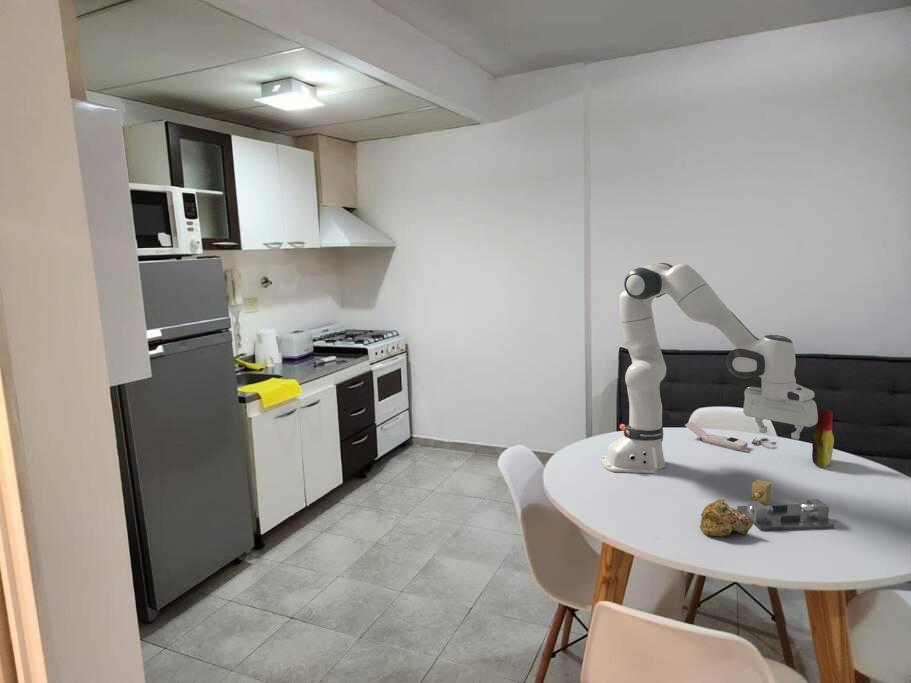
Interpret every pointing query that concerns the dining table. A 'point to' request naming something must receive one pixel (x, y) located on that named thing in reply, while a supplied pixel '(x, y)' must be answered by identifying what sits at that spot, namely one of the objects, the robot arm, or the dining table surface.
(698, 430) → the mobile phone
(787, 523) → the dark grey baseplate
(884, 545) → the dining table surface
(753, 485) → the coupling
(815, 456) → the red yellow oblong piece
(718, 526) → the rock
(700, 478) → the dining table surface
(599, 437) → the dining table surface
